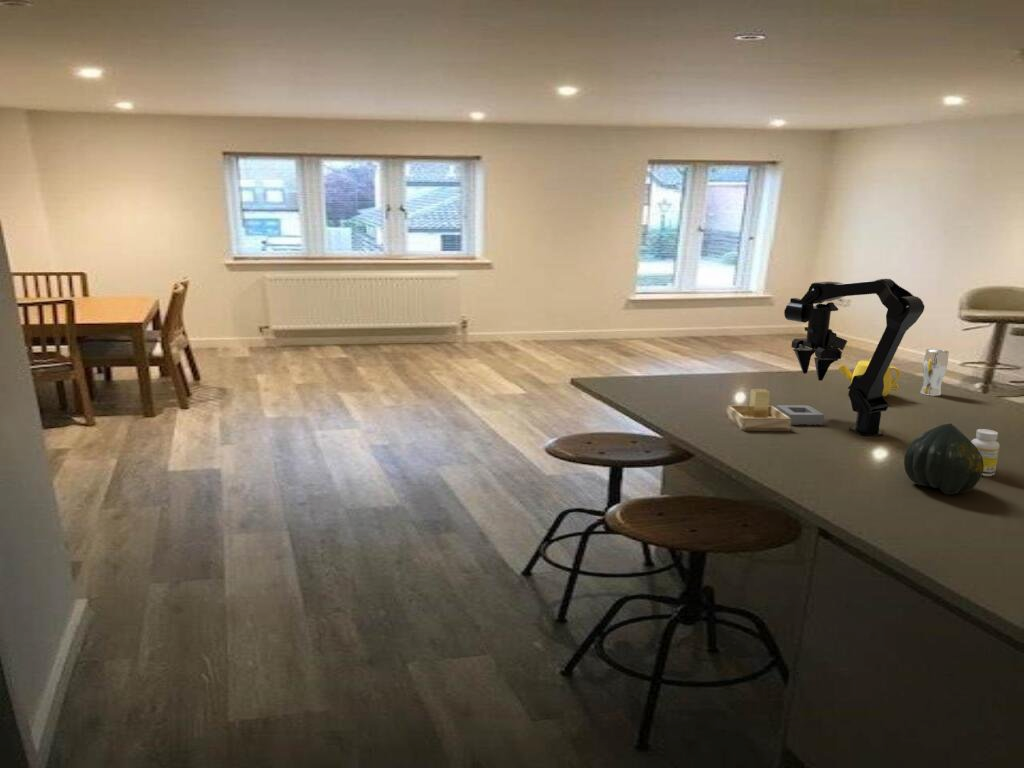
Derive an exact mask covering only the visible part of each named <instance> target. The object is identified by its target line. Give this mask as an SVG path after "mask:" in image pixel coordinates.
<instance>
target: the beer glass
mask: <svg viewBox="0 0 1024 768" xmlns="http://www.w3.org/2000/svg"><path fill="white" fill-rule="evenodd" d="M925 351H926V352H925V355H924V358H923V366H922V369H923V370H922V372H923V373H922V374H923V381H922V386H921V388H920V394H921V395H924V396H925V395H926V396H929V395H930V397H940V396H941V395H942V382H943V380H944V377H945V374H946V371H947V369H948V365H949V363H948V362H949V351H948V350H944V349H938V348H937V349H933V348H931V349H930V348H929V349H928V348H927V349H925Z"/></svg>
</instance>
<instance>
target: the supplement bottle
mask: <svg viewBox="0 0 1024 768" xmlns="http://www.w3.org/2000/svg"><path fill="white" fill-rule="evenodd" d="M975 432H976V433H975V436H976V437H974V438H973V439H972V440H970V441H971V442H972V443H973V444H974V445H975V446H976V448H977V449H978V451H979V452H980V454H981V456H982V458H983V465H984V469H983V473H982V475H983V476H982V477H992V475H993V476H994V475H995V474H996V468H997V464H998V463H997V462H998V457H999V451H1000V446H1001V445H1000V443H999V442H998V441H997V440H998V435H999V432H997V431H995V430H992V429H987V428H978V429H976V431H975Z"/></svg>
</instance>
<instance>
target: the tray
mask: <svg viewBox="0 0 1024 768" xmlns="http://www.w3.org/2000/svg"><path fill="white" fill-rule="evenodd" d="M748 414H749V405H745V404H743V405H734V404H729V405H726V412H725V417H726V418H727V420H729V421H731V422H732V424H734V425H735V426H736V427H737V428H738V429H740V430H741V431H754V432H755V431H763V432H764V431H765V432H767V431H771V432H772V431H773V432H774V431H775V432H777V431H778V432H780V431H781V432H782V431H784V432H785V431H787V432H788V431H789V432H790V431H791V426H792V425H791V418H790V417H788V416H787V415H785V414H784V413H782V412H781V411H779V410H778V409H776V406H773V405H769V407H768V416H767V418H748Z"/></svg>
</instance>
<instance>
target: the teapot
mask: <svg viewBox="0 0 1024 768" xmlns="http://www.w3.org/2000/svg"><path fill="white" fill-rule="evenodd" d="M871 358H872V357H871ZM871 358H869V360H859V361H858V362H857V364H856V366H855V368H854V370H853V373H852V372H851V370H850V369H849V368H848V367H847V366H846V365H845V364H844V363H843V364H841V365H840V366H839V365H838V367H837V370H838V371H839V372H841V374H842V375H843V376H844V377H845V378H846V379H847V380H848V381H849V382H850V384H851V383H852V380H853V377H854V376H857V375H863V374H864V373H865V371H866V369H867V367H868V365H869V363H870V361H871ZM892 370H893V371H896V376H895V377H894V379H893V376H892ZM900 376H901V371H900V369H899V368H897V367H895V366H890V365H889V367H888V369H887V371H886V373H885V375H884V378H883V381H884V389H883V392H882V395H883V396H884V397H887V396H888V395H889V394H890V392H891V391H896V390H898V388H899V385H898V383H897V381H898V380H899V378H900ZM894 386H895V387H894Z"/></svg>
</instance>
